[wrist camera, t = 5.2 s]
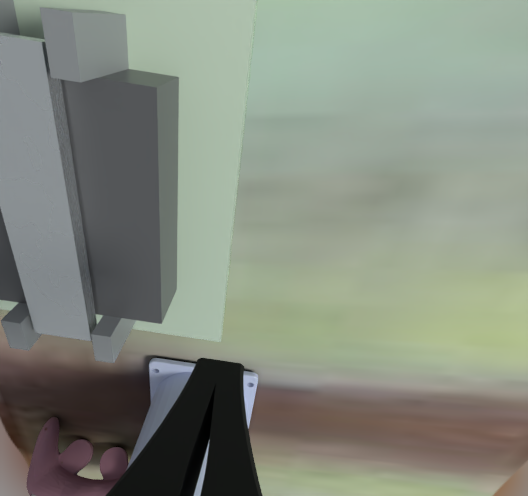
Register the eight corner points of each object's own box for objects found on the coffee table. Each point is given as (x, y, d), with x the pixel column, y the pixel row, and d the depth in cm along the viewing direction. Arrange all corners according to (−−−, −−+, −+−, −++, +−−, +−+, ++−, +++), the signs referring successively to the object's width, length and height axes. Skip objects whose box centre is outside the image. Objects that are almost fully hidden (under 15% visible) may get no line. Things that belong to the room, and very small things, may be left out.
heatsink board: (222, 335, 25) (207, 399, 21) (-11, 300, 25) (-74, 358, 20) (259, -24, 14) (245, -44, 10) (-150, -92, 14) (-343, -141, 10)
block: (98, 330, 20) (91, 340, 19) (43, 322, 20) (35, 332, 19) (55, 41, 13) (41, 41, 12) (-32, 27, 12) (-50, 27, 12)
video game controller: (58, 418, 35) (20, 506, 31) (43, 413, 31) (-3, 514, 27) (160, 439, 35) (134, 528, 32) (157, 437, 31) (128, 538, 28)
